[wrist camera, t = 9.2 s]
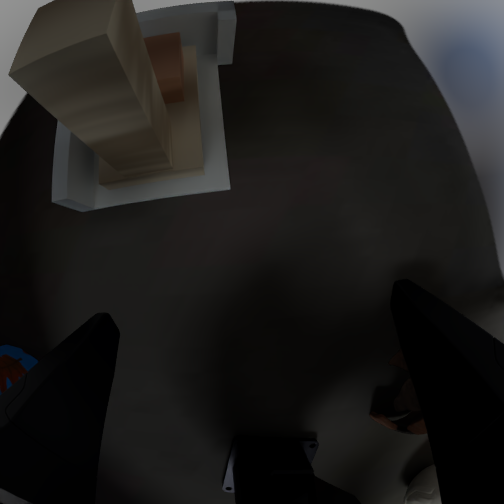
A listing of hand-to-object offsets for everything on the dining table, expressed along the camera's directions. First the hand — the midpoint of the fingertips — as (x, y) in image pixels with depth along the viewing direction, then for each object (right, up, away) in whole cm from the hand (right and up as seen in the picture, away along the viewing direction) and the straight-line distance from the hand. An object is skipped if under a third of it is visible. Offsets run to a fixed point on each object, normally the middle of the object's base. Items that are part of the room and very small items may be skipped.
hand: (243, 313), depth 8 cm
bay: (-6, +12, +9) cm, 16 cm away
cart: (-6, +10, +9) cm, 15 cm away
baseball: (+19, -24, +11) cm, 32 cm away
